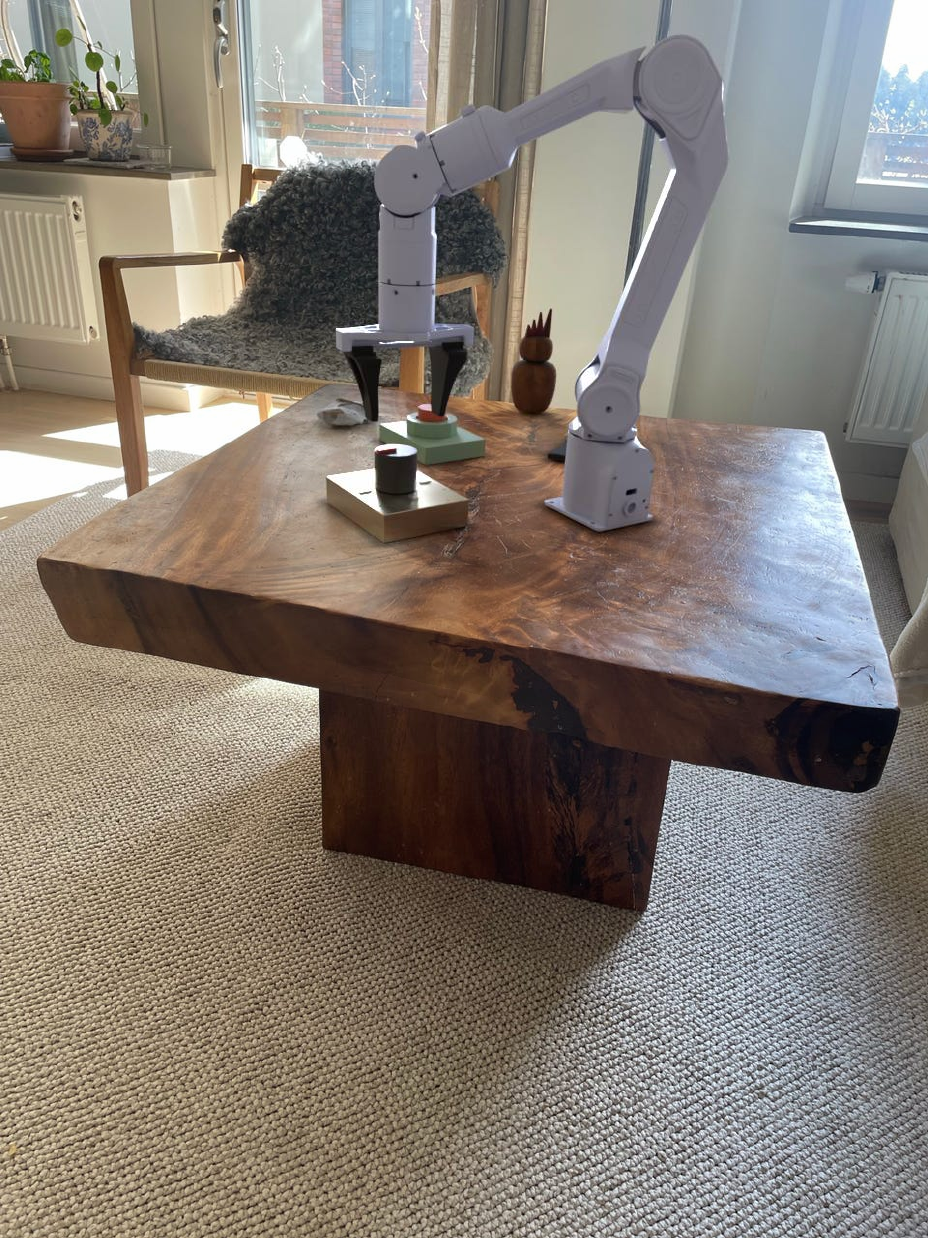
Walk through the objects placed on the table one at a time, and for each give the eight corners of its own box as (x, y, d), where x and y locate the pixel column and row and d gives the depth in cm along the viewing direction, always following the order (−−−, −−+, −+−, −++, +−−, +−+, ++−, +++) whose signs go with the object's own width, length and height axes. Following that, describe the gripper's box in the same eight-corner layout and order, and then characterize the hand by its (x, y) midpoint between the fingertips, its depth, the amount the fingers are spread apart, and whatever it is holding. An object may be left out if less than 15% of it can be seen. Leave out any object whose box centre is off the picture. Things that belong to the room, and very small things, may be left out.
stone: (341, 410, 132) (340, 392, 130) (386, 416, 129) (386, 398, 128) (310, 426, 123) (309, 407, 122) (358, 432, 121) (357, 413, 120)
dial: (403, 477, 96) (404, 439, 94) (424, 490, 93) (425, 450, 91) (367, 483, 94) (367, 444, 92) (387, 496, 91) (387, 455, 89)
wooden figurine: (553, 407, 138) (562, 307, 132) (552, 417, 133) (562, 312, 126) (510, 404, 139) (516, 304, 132) (507, 414, 134) (515, 309, 127)
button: (451, 422, 115) (451, 409, 114) (427, 425, 113) (427, 411, 112) (436, 415, 117) (436, 402, 117) (412, 418, 116) (413, 405, 115)
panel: (467, 526, 93) (469, 497, 91) (383, 543, 88) (383, 513, 86) (405, 488, 102) (406, 462, 101) (326, 502, 97) (325, 474, 96)
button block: (484, 455, 115) (486, 425, 113) (425, 465, 110) (426, 433, 108) (436, 432, 123) (437, 403, 122) (379, 439, 119) (379, 410, 117)
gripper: (350, 289, 83) (353, 431, 89) (489, 286, 89) (482, 421, 95) (328, 279, 89) (331, 414, 95) (459, 277, 94) (454, 405, 101)
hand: (405, 416), depth 95 cm, fingers open, 7 cm apart
